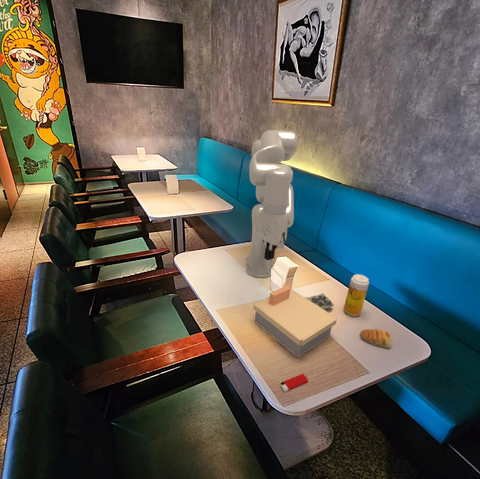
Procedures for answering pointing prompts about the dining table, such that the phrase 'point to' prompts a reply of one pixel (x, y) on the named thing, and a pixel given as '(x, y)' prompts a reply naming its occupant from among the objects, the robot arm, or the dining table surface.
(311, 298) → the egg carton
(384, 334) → the pastry
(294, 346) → the box
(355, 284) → the beer can
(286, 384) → the lighter
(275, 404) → the dining table surface
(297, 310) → the lid
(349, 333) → the dining table surface
